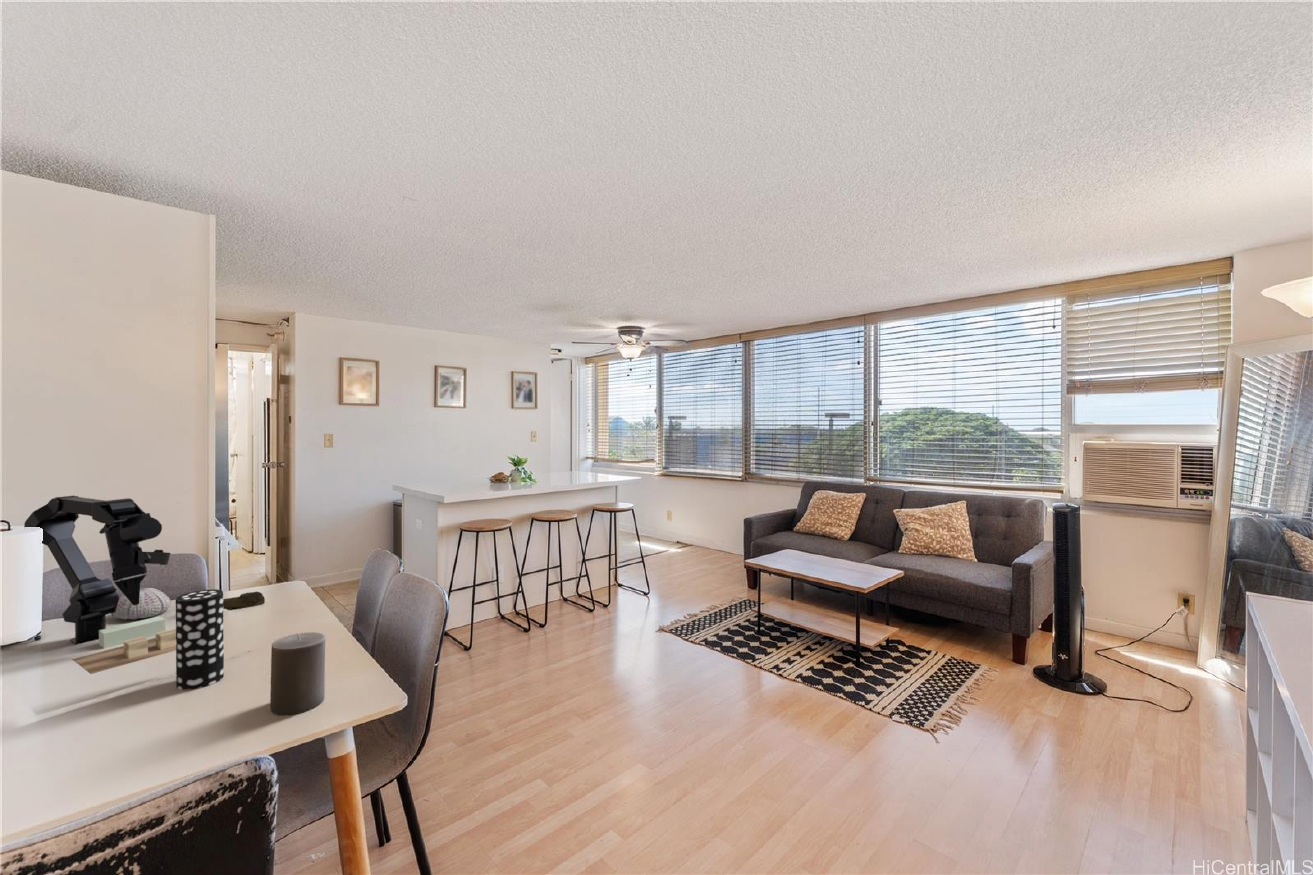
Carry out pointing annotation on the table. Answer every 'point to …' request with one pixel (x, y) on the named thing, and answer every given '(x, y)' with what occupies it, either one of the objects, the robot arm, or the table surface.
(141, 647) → the pine offcut left
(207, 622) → the spotted tube
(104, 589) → the robot arm
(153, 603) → the sea urchin shell
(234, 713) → the table surface
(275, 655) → the pillar candle
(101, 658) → the walnut board
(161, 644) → the pine offcut right
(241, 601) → the hand tool
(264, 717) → the table surface
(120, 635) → the sanding block
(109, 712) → the table surface
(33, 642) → the table surface
